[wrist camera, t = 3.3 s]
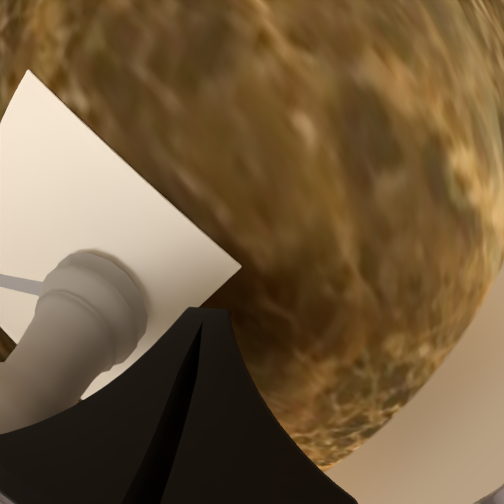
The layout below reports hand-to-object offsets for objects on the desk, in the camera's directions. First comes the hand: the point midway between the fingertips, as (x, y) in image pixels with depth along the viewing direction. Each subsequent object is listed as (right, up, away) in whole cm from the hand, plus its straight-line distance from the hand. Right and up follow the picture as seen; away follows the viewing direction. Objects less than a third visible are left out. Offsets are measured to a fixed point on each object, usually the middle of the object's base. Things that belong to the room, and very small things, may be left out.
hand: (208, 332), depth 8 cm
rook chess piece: (-5, +1, +1) cm, 5 cm away
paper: (-8, +1, +1) cm, 8 cm away
